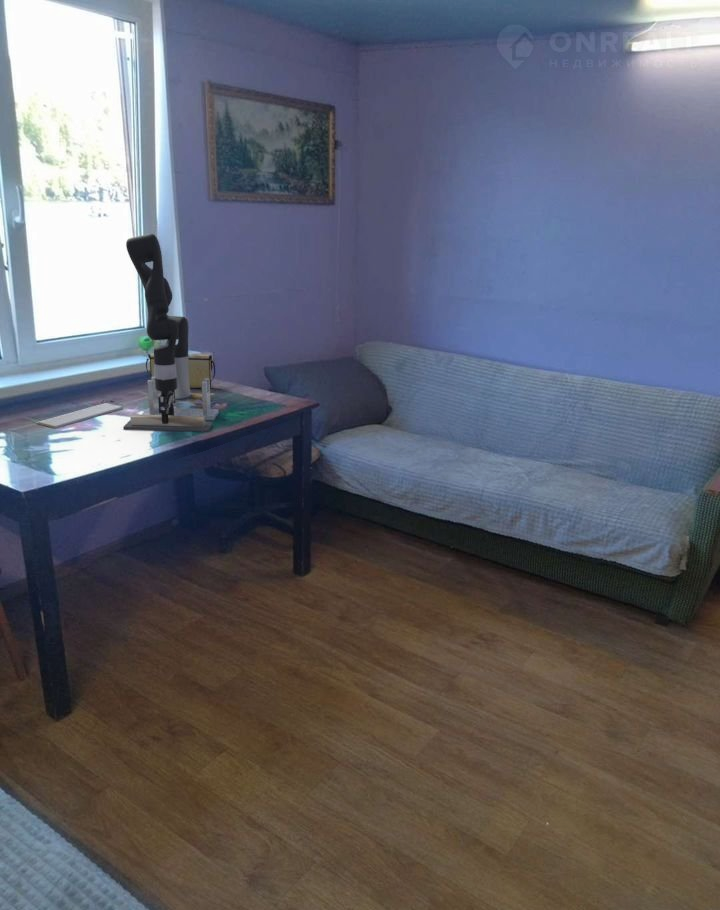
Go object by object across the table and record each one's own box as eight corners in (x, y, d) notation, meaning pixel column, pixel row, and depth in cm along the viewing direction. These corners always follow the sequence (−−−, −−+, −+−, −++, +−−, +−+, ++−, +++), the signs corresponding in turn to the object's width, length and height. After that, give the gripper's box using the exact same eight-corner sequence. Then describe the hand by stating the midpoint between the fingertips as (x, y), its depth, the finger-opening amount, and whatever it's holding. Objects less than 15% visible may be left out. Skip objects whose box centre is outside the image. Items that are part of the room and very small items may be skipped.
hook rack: (148, 410, 272) (146, 375, 267) (218, 412, 273) (217, 377, 268) (141, 418, 263) (138, 381, 258) (213, 420, 263) (212, 384, 259)
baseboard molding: (33, 424, 254) (55, 430, 248) (32, 416, 253) (54, 422, 247) (101, 405, 279) (122, 410, 274) (100, 398, 278) (122, 403, 273)
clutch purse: (216, 385, 314) (215, 352, 309) (214, 389, 307) (213, 355, 302) (149, 384, 312) (147, 350, 307) (145, 388, 305) (143, 354, 300)
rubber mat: (130, 422, 257) (129, 420, 257) (212, 425, 258) (212, 422, 257) (123, 429, 249) (123, 426, 249) (208, 431, 250) (208, 429, 250)
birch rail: (133, 422, 254) (132, 414, 253) (205, 424, 255) (204, 416, 254) (131, 424, 251) (130, 416, 250) (203, 426, 252) (203, 418, 251)
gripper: (160, 371, 254) (162, 414, 259) (149, 380, 240) (152, 425, 246) (180, 371, 254) (183, 414, 259) (171, 381, 241) (174, 426, 246)
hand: (168, 420), depth 253 cm, fingers open, 8 cm apart
